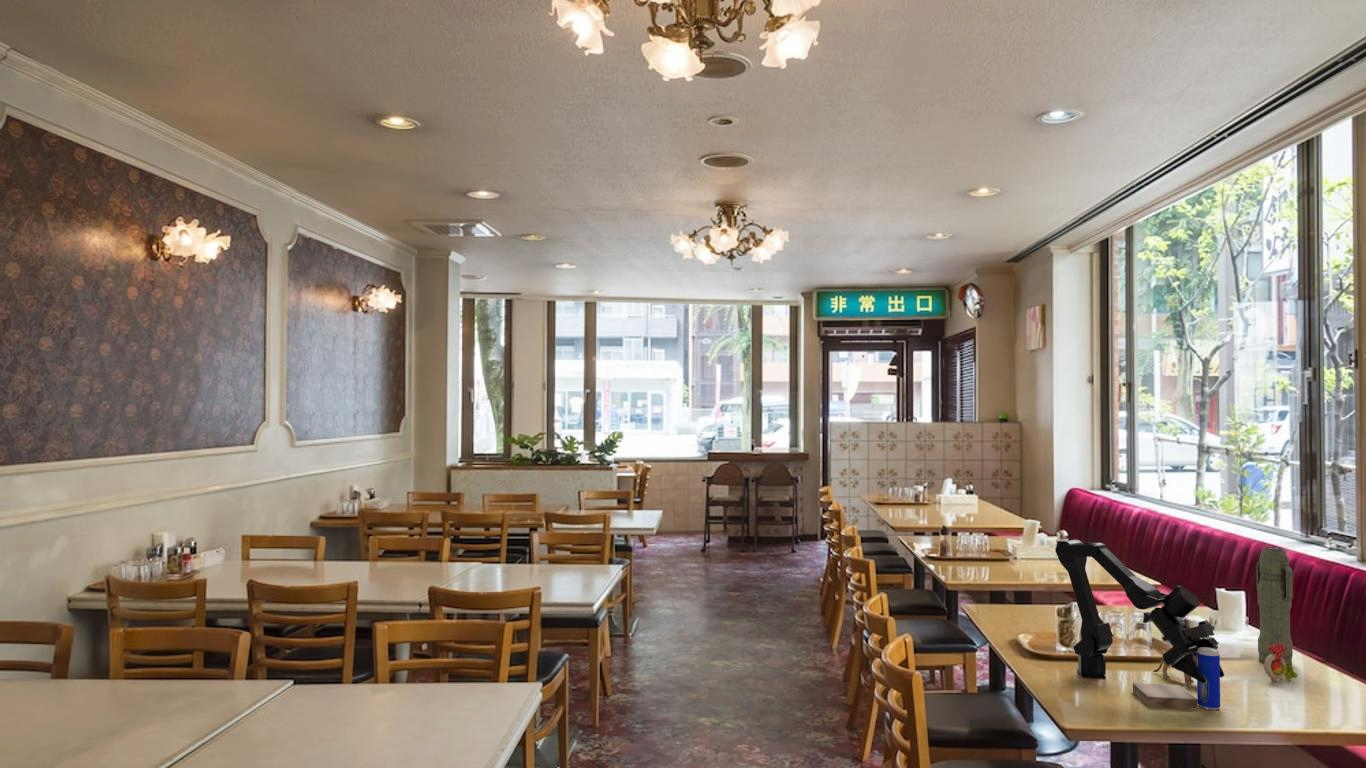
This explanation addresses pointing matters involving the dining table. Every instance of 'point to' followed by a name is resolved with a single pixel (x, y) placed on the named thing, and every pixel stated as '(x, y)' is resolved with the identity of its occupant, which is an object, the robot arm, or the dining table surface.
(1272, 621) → the grey-green panelled tower
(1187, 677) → the lion figurine
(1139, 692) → the walnut base board
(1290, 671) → the bird rattle
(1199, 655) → the beverage can
